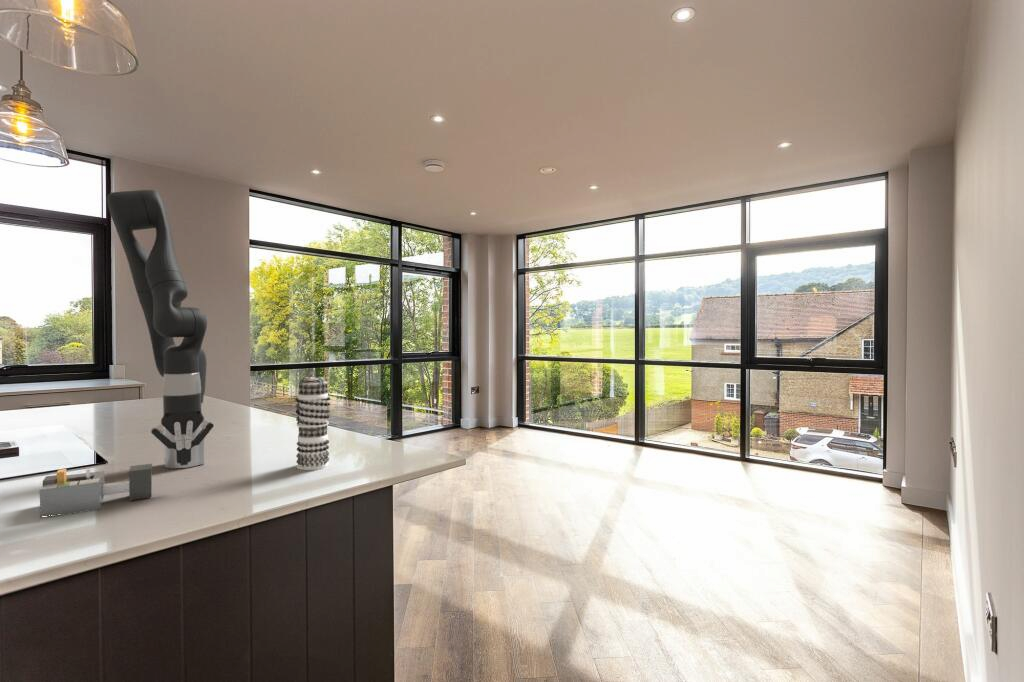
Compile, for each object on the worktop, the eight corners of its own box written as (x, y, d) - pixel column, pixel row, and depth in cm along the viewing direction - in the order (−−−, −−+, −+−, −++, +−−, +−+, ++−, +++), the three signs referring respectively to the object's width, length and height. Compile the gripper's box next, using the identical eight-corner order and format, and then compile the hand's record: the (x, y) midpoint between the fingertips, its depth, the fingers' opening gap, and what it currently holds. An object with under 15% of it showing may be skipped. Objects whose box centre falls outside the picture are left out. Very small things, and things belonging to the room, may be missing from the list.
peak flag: (66, 500, 111) (66, 468, 111) (64, 504, 108) (64, 471, 108) (59, 501, 110) (58, 469, 110) (57, 505, 108) (56, 472, 108)
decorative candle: (326, 469, 141) (327, 379, 140) (291, 470, 139) (291, 379, 138) (333, 461, 150) (333, 375, 149) (299, 462, 148) (299, 375, 147)
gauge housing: (104, 496, 117) (104, 466, 117) (100, 509, 109) (99, 477, 109) (49, 503, 112) (48, 472, 112) (40, 518, 104) (39, 484, 103)
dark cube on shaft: (151, 491, 120) (151, 459, 120) (151, 497, 116) (151, 464, 116) (88, 499, 114) (88, 466, 114) (85, 506, 110) (85, 471, 109)
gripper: (212, 388, 128) (213, 456, 129) (147, 392, 120) (149, 465, 121) (216, 391, 122) (217, 463, 123) (148, 396, 114) (150, 473, 115)
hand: (183, 464), depth 122 cm, fingers closed
